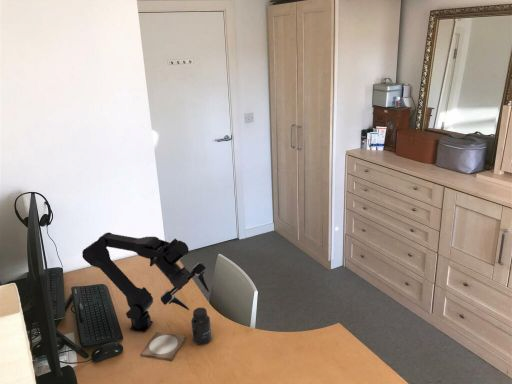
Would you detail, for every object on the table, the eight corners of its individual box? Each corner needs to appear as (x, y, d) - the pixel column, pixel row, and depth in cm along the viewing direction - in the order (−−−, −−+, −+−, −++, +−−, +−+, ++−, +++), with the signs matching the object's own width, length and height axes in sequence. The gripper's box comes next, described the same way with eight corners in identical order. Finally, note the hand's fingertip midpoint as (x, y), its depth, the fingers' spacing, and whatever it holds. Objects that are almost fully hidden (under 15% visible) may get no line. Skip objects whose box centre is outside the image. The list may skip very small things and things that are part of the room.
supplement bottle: (208, 346, 159) (205, 318, 154) (190, 344, 160) (187, 316, 156) (214, 333, 165) (211, 306, 161) (196, 332, 166) (193, 304, 162)
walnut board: (140, 355, 156) (140, 353, 155) (156, 333, 166) (156, 331, 166) (172, 361, 152) (171, 358, 152) (186, 338, 163) (185, 335, 163)
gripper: (148, 289, 147) (179, 324, 148) (191, 251, 151) (221, 285, 152) (149, 285, 158) (178, 317, 159) (189, 249, 161) (217, 281, 163)
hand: (199, 300), depth 158 cm, fingers open, 9 cm apart
